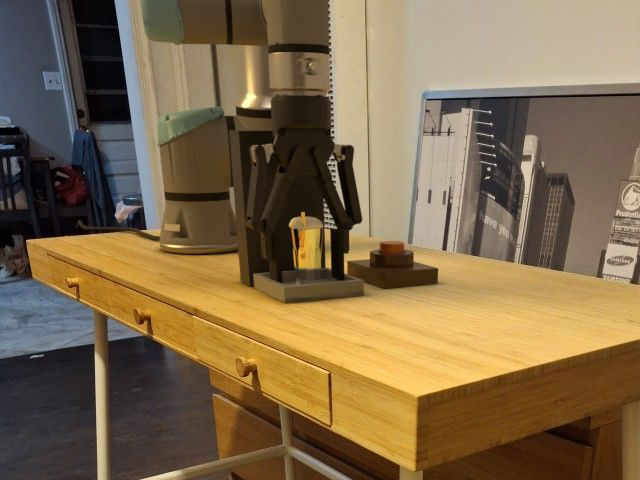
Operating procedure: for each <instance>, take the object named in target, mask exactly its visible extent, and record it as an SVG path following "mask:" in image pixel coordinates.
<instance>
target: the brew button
mask: <svg viewBox="0 0 640 480" xmlns="http://www.w3.org/2000/svg"><path fill="white" fill-rule="evenodd" d="M379 249H380V253H384V254H402V253H404V249H405V241H404V242H403V241H399V240H384V241H380V242H379Z"/></svg>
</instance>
